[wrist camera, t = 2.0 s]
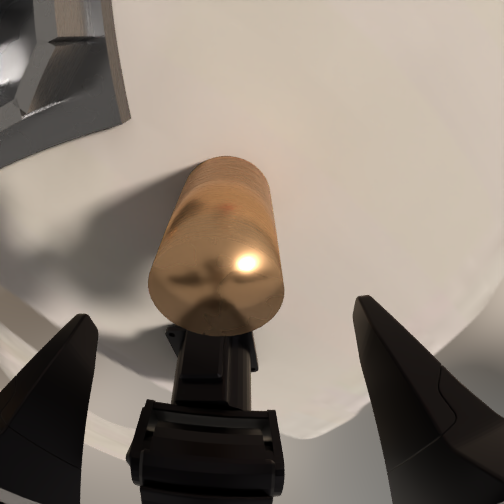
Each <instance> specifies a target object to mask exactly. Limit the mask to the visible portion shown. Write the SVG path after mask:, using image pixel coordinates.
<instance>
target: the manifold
mask: <svg viewBox="0 0 504 504" xmlns="http://www.w3.org/2000/svg"><path fill="white" fill-rule="evenodd" d="M130 119H131V116H130V111H129V106H128V102H127V97H126V92H125V87H124V82H123V76H122V71H121V65H120V59H119V53H118V47H117V41H116V34H115V27H114V19H113V11H112V3H111V0H0V168H1V167H3V166H6V165H8V164H10V163H12V162H14V161H17V160H19V159H21V158H24V157H26V156H29V155H31V154H33V153H36V152H38V151H41V150H44V149H46V148H49V147H51V146H54V145H57V144H60V143H63V142H65V141H68V140H71V139H74V138H77V137H80V136H83V135H86V134H90V133H93V132H96V131H100V130H103V129H107V128H110V127H114V126H117V125H121V124H123V123H125V122H126V121H128V120H130Z"/></svg>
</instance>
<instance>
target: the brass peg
mask: <svg viewBox="0 0 504 504" xmlns="http://www.w3.org/2000/svg"><path fill="white" fill-rule="evenodd" d="M148 288H149V293H150V296H151V299H152V301H153V302H154V304H155V306H156V307H157V309H158V310H159V311H160V312H161V313H162V314H163V315H164V316H165V317H166V318H167V319H169V320H170V321H171V322H173V323H174V324H176V325H178V326H180V327H182V328H184V329H186V330H189V331H192V332H195V333H198V334H202V335H209V336H234V335H240V334H244V333H247V332H250V331H253V330H255V329H257V328H259V327H261V326H263V325H264V324H266V323H267V322H268V321H270V320H271V319H272V318H273V317H274V316H275V314H276V313H277V312H278V310H279V309H280V307H281V304H282V302H283V298H284V284H283V277H282V269H281V262H280V255H279V248H278V241H277V234H276V227H275V221H274V214H273V207H272V201H271V194H270V188H269V185H268V182H267V180H266V178H265V176H264V175H263V173H262V172H261V171H260V170H259V169H258V168H257V167H256V166H255V165H253V164H251V163H250V162H248V161H246V160H244V159H241V158H237V157H231V156H221V157H215V158H212V159H209V160H207V161H205V162H203V163H201V164H200V165H198V166H197V167H196V168H195V169H194V170H193V171H192V172H191V173H190V175H189V177H188V178H187V181H186V183H185V185H184V187H183V190H182V192H181V194H180V197H179V199H178V202H177V204H176V206H175V209H174V211H173V214H172V216H171V218H170V221H169V223H168V226H167V228H166V231H165V233H164V236H163V239H162V241H161V244H160V246H159V249H158V252H157V254H156V257H155V260H154V262H153V265H152V268H151V271H150V273H149V279H148Z"/></svg>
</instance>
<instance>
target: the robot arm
mask: <svg viewBox="0 0 504 504" xmlns="http://www.w3.org/2000/svg"><path fill="white" fill-rule="evenodd" d="M353 323H354V329H355V334H356V340H357V346H358V352H359V358H360V363H361V367H362V371H363V374H364V378H365V382H366V385H367V389H368V393H369V396H370V400H371V404H372V408H373V412H374V416H375V420H376V424H377V428H378V433H379V436H380V441H381V445H382V450H383V455H384V459H385V464H386V469H387V472H388V473H387V475H388V480H389V485H390V491H391V496H392V502H393V504H504V418H503V417H501V416H500V415H498V414H497V413H496V412H494V411H493V410H492V409H491V408H489V407H488V406H487V405H486V404H485V403H484V402H482V401H481V400H480V399H479V398H478V397H476V396H475V395H474V394H473V393H472V392H471V391H469V390H468V389H467V388H466V387H465V386H464V385H462V384H461V383H460V382H459V381H458V380H457V379H456V378H455V377H454V376H453V375H452V374H451V373H450V372H449V371H448V370H447V369H446V368H445V367H444V366H441V363H440V362H439V361H438V360H437V359H436V358H435V357H434V356H433V355H432V354H431V353H430V352H429V351H428V350H427V349H426V348H425V347H424V346H423V345H422V344H421V343H420V342H419V341H418V340H417V339H416V338H415V337H414V336H413V335H411V334H410V333H409V332H408V331H407V330H406V329H405V328H404V327H403V326H402V325H401V324H400V323H399V322H398V321H397V320H396V319H395V318H394V317H393V316H392V315H390V314H389V313H388V312H387V311H386V310H385V309H384V308H383V307H382V306H381V305H380V304H379V303H378V302H377V301H375V300H374V299H373V298H372V297H371V296H369V295H364V296H358V297H357V298H356V301H355V306H354V311H353ZM166 336H167V338H168V340H169V342H170V344H171V346H172V348H173V350H174V352H175V354H176V355H177V357H178V360H177V366H176V373H175V379H174V386H173V393H172V400H171V404H167V403H160V402H155V401H154V400H149V399H147V401H146V404H145V407H143V408H142V411H141V414H140V418H139V421H138V424H137V428H136V431H135V435H134V438H133V441H132V443H131V445H130V448H129V450H128V452H127V454H126V461H127V463H128V464H129V465H130V467H131V476H132V481H133V483H134V484H135V485H138V486H140V493H141V501H142V504H272V502H273V497H274V496H280V495H281V493H282V490H283V485H284V458H283V452H282V446H281V441H280V434H279V428H278V422H277V416H276V411H275V410H267V411H251V372H256V371H258V361H257V355H256V349H255V343H254V337H253V331H250V332H247V333H244V334H240V335H234V336H209V335H202V334H198V333H195V332H192V331H189V330H186V329H184V328H182V327H180V326H175V327H168V328H167V329H166ZM97 342H98V329H97V327H96V326H95V324H94V323H93V321H92V320H91V318H90V317H89V315H87V314H77V315H76V316H75V317H74V318H72V319H71V320H70V321H69V322H68V323H67V324H66V325H65V326H64V327H63V328H62V329H61V330H60V331H59V332H58V333H57V334H56V335H55V336H54V337H53V338H52V339H51V340H50V341H49V342H48V343H47V344H46V345H45V346H44V347H43V348H42V349H41V350H40V351H39V352H38V353H37V354H36V355H35V356H34V357H33V358H32V359H31V360H30V361H29V362H28V363H27V364H26V365H25V366H24V367H23V368H22V370H21V371H20V372H19V373H18V374H17V376H15V377H14V378H13V379H12V380H11V381H10V382H9V383H8V385H7V386H6V387H5V388H4V389H3V390H2V391H1V392H0V504H80V486H81V485H80V484H81V466H82V454H83V453H82V452H83V443H84V434H85V426H86V419H87V411H88V404H89V399H90V392H91V387H92V381H93V375H94V369H95V359H96V350H97Z"/></svg>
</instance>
